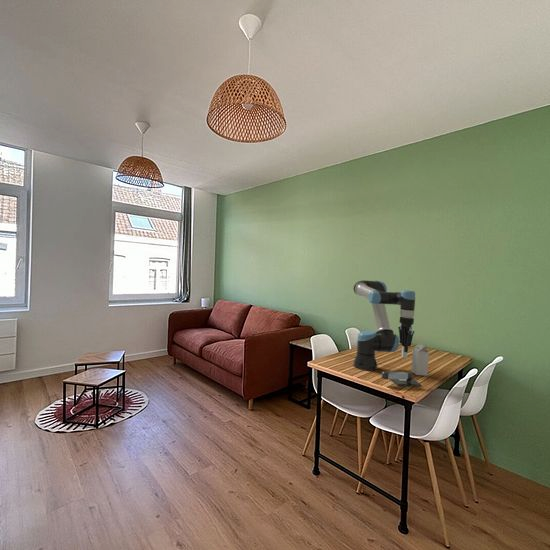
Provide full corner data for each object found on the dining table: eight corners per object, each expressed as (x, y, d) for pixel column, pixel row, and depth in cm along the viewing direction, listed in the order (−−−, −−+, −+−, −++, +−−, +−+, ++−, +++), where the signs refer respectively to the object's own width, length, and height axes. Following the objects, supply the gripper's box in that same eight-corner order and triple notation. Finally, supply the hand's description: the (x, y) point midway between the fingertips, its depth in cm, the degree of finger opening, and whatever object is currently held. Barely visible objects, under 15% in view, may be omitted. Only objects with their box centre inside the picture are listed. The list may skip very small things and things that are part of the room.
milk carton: (422, 372, 190) (424, 343, 189) (427, 376, 182) (429, 345, 182) (411, 371, 190) (413, 342, 189) (416, 375, 183) (418, 345, 182)
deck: (383, 375, 179) (384, 369, 179) (405, 375, 181) (405, 370, 181) (397, 386, 163) (398, 379, 163) (421, 386, 165) (421, 379, 165)
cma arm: (383, 379, 161) (384, 373, 161) (380, 376, 165) (380, 371, 165) (414, 379, 163) (414, 374, 163) (410, 377, 167) (410, 371, 167)
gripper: (394, 315, 176) (392, 353, 176) (407, 318, 163) (404, 360, 164) (406, 315, 177) (404, 353, 177) (419, 319, 164) (417, 360, 164)
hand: (404, 357), depth 170 cm, fingers closed
